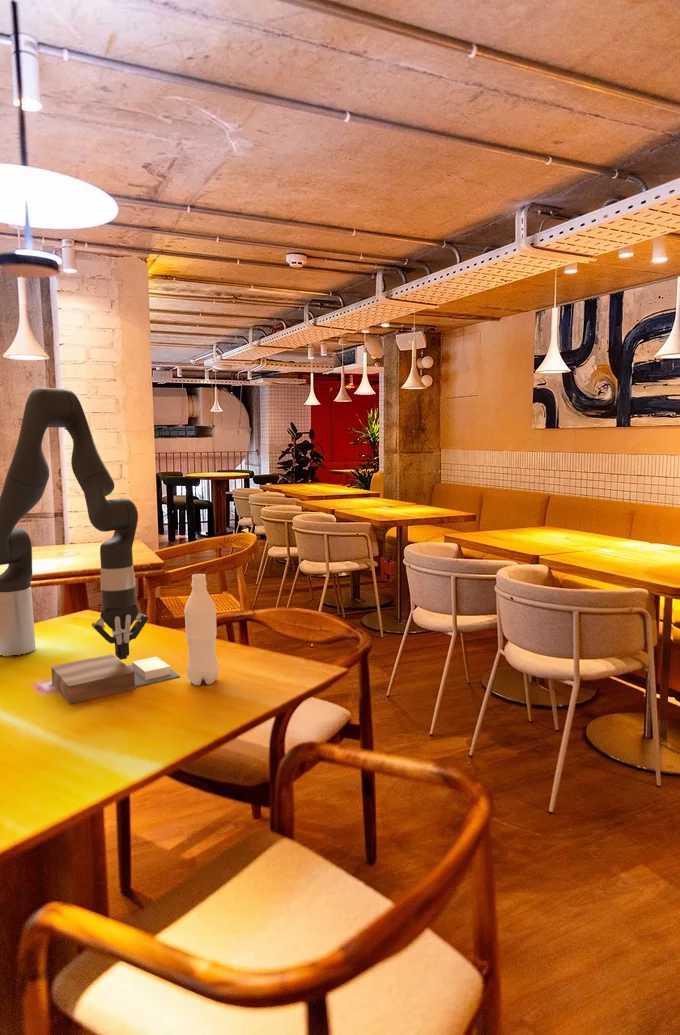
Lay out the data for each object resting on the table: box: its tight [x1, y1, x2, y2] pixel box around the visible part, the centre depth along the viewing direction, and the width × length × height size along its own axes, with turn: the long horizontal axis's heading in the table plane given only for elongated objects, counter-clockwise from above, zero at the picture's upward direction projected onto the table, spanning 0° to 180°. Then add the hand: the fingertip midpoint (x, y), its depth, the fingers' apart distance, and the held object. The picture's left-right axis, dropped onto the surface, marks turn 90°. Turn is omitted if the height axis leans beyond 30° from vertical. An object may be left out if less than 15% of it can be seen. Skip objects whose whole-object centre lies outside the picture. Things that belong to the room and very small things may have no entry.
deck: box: [50, 653, 136, 705], centre depth 151 cm, size 16×14×4 cm
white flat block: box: [131, 656, 171, 680], centre depth 158 cm, size 9×6×2 cm, turn 36°
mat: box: [127, 664, 181, 688], centre depth 158 cm, size 15×11×1 cm
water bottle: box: [183, 573, 220, 686], centre depth 151 cm, size 7×7×25 cm
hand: (122, 658), depth 154 cm, fingers closed
